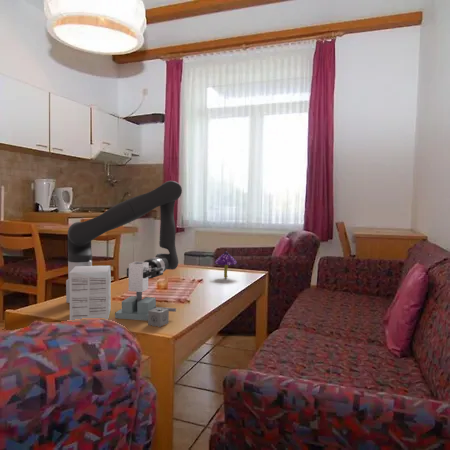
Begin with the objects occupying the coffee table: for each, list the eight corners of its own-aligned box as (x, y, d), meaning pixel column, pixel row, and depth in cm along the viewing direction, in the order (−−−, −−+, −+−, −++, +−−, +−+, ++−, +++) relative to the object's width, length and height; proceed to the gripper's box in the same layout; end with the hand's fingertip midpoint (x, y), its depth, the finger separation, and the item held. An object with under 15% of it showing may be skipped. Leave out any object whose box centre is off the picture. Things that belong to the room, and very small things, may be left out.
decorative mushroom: (230, 281, 203) (230, 253, 202) (210, 278, 209) (210, 251, 208) (240, 277, 214) (241, 251, 213) (221, 275, 220) (222, 249, 219)
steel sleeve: (128, 291, 136) (128, 263, 136) (134, 287, 141) (135, 261, 141) (142, 292, 135) (142, 264, 135) (148, 288, 140) (148, 262, 140)
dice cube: (160, 327, 126) (160, 312, 126) (148, 325, 128) (148, 310, 128) (168, 323, 131) (168, 309, 131) (156, 321, 133) (156, 307, 133)
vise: (115, 318, 135) (115, 265, 134) (127, 310, 145) (127, 261, 144) (170, 322, 132) (171, 268, 130) (179, 314, 141) (179, 264, 140)
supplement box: (75, 311, 143) (74, 265, 142) (111, 309, 146) (111, 265, 145) (68, 322, 130) (68, 272, 129) (108, 320, 133) (108, 271, 132)
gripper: (136, 257, 153) (117, 263, 136) (170, 259, 151) (154, 265, 134) (136, 275, 154) (117, 284, 137) (169, 277, 151) (154, 286, 134)
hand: (136, 275), depth 135 cm, fingers closed on steel sleeve, 5 cm apart
